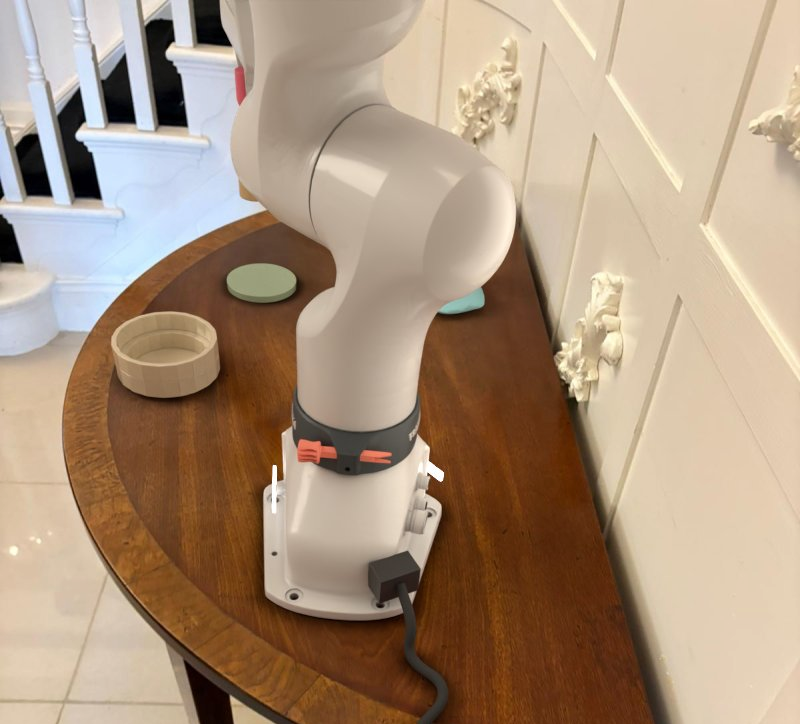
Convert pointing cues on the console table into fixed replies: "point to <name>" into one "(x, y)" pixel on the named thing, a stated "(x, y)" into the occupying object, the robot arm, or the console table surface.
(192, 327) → the bowl
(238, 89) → the tulip
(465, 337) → the console table surface
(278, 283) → the coaster
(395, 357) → the robot arm
